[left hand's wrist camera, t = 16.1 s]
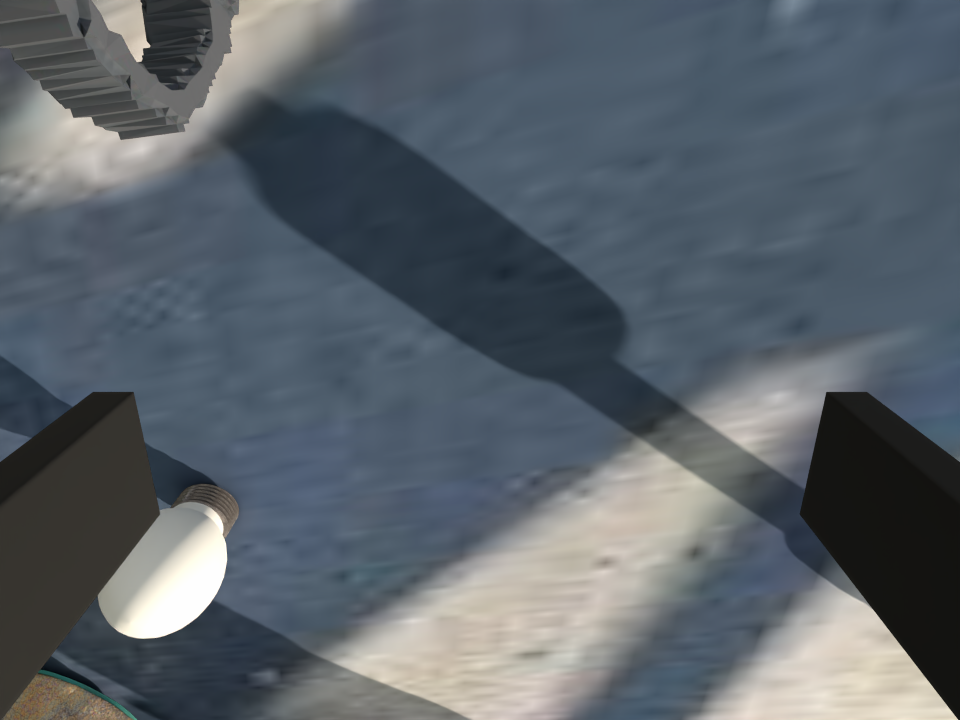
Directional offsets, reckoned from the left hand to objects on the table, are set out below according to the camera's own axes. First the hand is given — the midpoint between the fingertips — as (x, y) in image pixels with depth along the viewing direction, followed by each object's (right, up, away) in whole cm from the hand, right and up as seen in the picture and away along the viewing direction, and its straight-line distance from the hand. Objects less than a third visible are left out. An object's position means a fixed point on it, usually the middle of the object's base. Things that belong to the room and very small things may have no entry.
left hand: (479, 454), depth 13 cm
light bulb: (-19, -8, +33) cm, 39 cm away
